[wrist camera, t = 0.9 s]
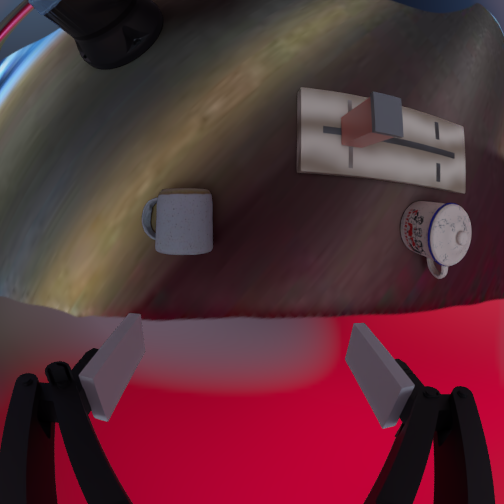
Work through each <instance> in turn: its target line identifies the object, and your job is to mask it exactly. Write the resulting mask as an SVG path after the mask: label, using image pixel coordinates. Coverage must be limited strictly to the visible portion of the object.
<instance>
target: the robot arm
mask: <svg viewBox="0 0 504 504" xmlns="http://www.w3.org/2000/svg"><path fill="white" fill-rule="evenodd" d="M28 1H29V3H30V4H31V5H32V6H33V7H34V8H35V9H36V10H37V11H38V13H39V14H40V15H44V16H45V17H46V18H48V19H49V20H51V21H52V22H53V23H55V24H56V25H57V26H59V27H60V28H61V29H63V30H64V31H65V32H67V33H68V34H69V35H71V36H72V37H73V38H74V39H75V42H76V44H77V47H78V50H79V52H80V54H81V56H82V58H83V59H84V60H85V61H86V62H87V63H89V64H90V65H91V66H93V67H95V68H98V69H112V68H116V67H120V66H122V65H125V64H127V63H129V62H131V61H132V60H134V59H136V58H137V57H139V56H140V55H141V54H143V53H144V52H145V51H146V50H147V49H148V48H149V47H150V46H151V45H152V44H153V43H154V41H155V40H156V39H157V37H158V35H159V34H160V31H161V29H162V25H163V17H162V14H161V12H160V10H159V8H158V6H157V5H156V4H155V3H154V2H153V1H151V0H28ZM144 353H145V346H144V338H143V331H142V322H141V314H134V313H129V314H128V315H127V316H126V318H125V319H124V320H123V321H122V322H121V324H120V325H119V326H118V327H117V328H116V329H115V331H114V332H113V333H112V334H111V336H110V337H109V338H108V339H107V340H106V342H105V343H104V344H103V345H102V346H101V348H100V349H95V348H93V349H91V350H89V351H88V352H86V353H85V355H84V356H83V357H82V359H80V360H79V362H78V363H77V364H76V365H75V366H74V368H73V369H72V370H71V368H70V366H69V364H67V363H65V362H61V361H59V362H54V363H51V364H49V365H48V366H47V367H46V369H45V374H46V376H47V379H48V381H49V383H41V382H39V381H38V378H37V377H36V375H34V374H30V373H26V374H22V375H20V376H19V377H18V378H17V380H16V382H15V386H14V389H13V393H12V397H11V400H10V404H9V408H8V412H7V417H6V421H5V426H4V431H3V437H2V443H1V449H0V504H57V495H56V483H55V463H54V437H55V422H57V423H59V427H60V430H61V434H62V437H63V441H64V444H65V447H66V450H67V453H68V456H69V459H70V462H71V465H72V467H73V470H74V473H75V475H76V478H77V480H78V483H79V485H80V487H81V490H82V492H83V494H84V496H85V499H86V501H87V503H88V504H133V503H132V502H131V500H130V498H129V497H128V495H127V494H126V492H125V490H124V489H123V487H122V485H121V483H120V482H119V480H118V478H117V476H116V474H115V473H114V471H113V469H112V467H111V465H110V463H109V461H108V459H107V457H106V455H105V453H104V451H103V449H102V447H101V444H100V442H99V440H98V438H97V435H96V433H95V431H94V428H93V426H92V424H91V421H90V419H89V416H88V414H89V413H90V411H92V413H93V415H94V418H97V419H100V420H104V421H107V422H108V420H109V419H110V417H111V415H112V413H113V411H114V409H115V407H116V405H117V403H118V401H119V399H120V397H121V395H122V394H123V391H124V390H125V388H126V386H127V384H128V382H129V381H130V379H131V377H132V375H133V373H134V371H135V369H136V368H137V366H138V364H139V362H140V360H141V359H142V357H143V355H144ZM345 360H346V362H347V364H348V366H349V367H350V369H351V371H352V373H353V375H354V376H355V378H356V380H357V382H358V384H359V386H360V387H361V389H362V391H363V393H364V395H365V397H366V398H367V400H368V402H369V404H370V406H371V408H372V409H373V412H374V413H375V415H376V417H377V419H378V421H379V423H380V425H381V427H382V428H387V427H391V426H395V425H396V423H397V421H398V419H399V417H400V419H401V421H402V424H401V426H400V428H399V430H398V431H397V433H396V435H395V437H396V439H395V441H394V443H393V446H392V448H391V451H390V453H389V455H388V457H387V459H386V461H385V464H384V466H383V468H382V470H381V472H380V474H379V476H378V478H377V480H376V482H375V484H374V486H373V488H372V489H371V491H370V493H369V495H368V497H367V498H366V500H365V502H364V504H413V501H414V499H415V496H416V493H417V490H418V488H419V485H420V482H421V479H422V476H423V473H424V470H425V466H426V463H427V460H428V456H429V453H430V449H431V445H432V441H433V443H434V473H435V474H434V475H435V476H434V504H495V496H494V486H493V479H492V471H491V465H490V459H489V454H488V449H487V445H486V440H485V436H484V432H483V428H482V424H481V420H480V417H479V413H478V410H477V406H476V403H475V400H474V397H473V394H472V392H471V391H470V390H469V389H468V388H466V387H462V386H459V387H455V388H454V389H453V391H452V393H451V394H440V393H439V391H438V390H437V389H435V388H433V387H429V386H426V387H425V386H424V385H423V384H422V383H421V381H420V380H419V379H418V378H417V377H416V375H415V374H413V372H412V371H411V370H410V368H409V367H408V366H407V365H406V363H404V362H403V361H401V360H400V359H394V358H393V357H392V356H391V355H390V354H389V352H388V351H387V350H386V348H385V347H384V346H383V345H382V344H381V342H380V341H379V340H378V339H377V338H376V336H375V335H374V334H373V333H372V332H371V330H370V329H369V328H368V327H367V326H366V324H365V323H354V324H353V329H352V333H351V338H350V342H349V346H348V350H347V354H346V358H345Z"/></svg>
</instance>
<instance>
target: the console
mask: <svg viewBox="0 0 504 504" xmlns="http://www.w3.org/2000/svg"><path fill="white" fill-rule="evenodd" d="M366 99H368V98H366V97H361V96H356V95H351V94H345V93H339V92H333V91H327V90H319V89H311V88H303V87H301V88H300V90H299V92H298V93H297V173H311V174H324V175H336V176H346V177H356V178H365V179H373V180H381V181H388V182H396V183H402V184H409V185H415V186H421V187H427V188H433V189H438V190H444V191H449V192H454V193H465V143H464V130H463V127H462V126H460V125H457V124H455V123H452V122H450V121H447V120H444V119H441V118H438V117H436V116H433V115H430V114H426V113H423V112H420V111H417V110H414V109H410V108H407V107H403V106H402V117H403V135H404V137H402V138H397V137H394V138H390V139H387V140H384V141H381V142H378V143H375V144H372V145H369V146H366V147H363V148H359V147H352V146H345V145H342V131H341V117H342V116H344V115H345V114H347V113H348V112H349V111H351V110H352V109H354V108H355V107H356V106H358V105H359V104H361V103H362V102H364V101H365V100H366Z"/></svg>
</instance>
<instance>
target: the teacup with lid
mask: <svg viewBox="0 0 504 504" xmlns="http://www.w3.org/2000/svg"><path fill="white" fill-rule="evenodd" d="M400 231H401V237H402V240H403V242H404V244H405V245H406V247H407V248H408V249H410V250H411V251H413V252H416V253H418V254H420V255H423V256H425V257H427V264H428V268H429V270H430V272H431V273H432V274H433V276H435V277H436V278H439V279H441V278H443V277H445V276H446V274H447V271H448V266H451V265H454V264H456V263H458V262H459V261H460V260H461V259H462V258H463V257H464V256H465V254H466V252H467V250H468V248H469V245H470V241H471V223H470V219H469V217H468V215H467V213H466V212H465V210H464V209H463V208H462V207H460V206H459V205H457V204H455V203H446V204H444V203H436V202H427V201H417V202H414V203H412V204H411V205H410V206H409V207H408V208H407V209H406V210H405V212H404V214H403V216H402V220H401V226H400ZM433 260H435V261H436V262H437V263H438V264H440V265H441V273H440V272H439V271H438V270H437V269H436V267H435V265H434V261H433Z"/></svg>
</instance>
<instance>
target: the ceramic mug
mask: <svg viewBox="0 0 504 504" xmlns="http://www.w3.org/2000/svg"><path fill="white" fill-rule="evenodd" d="M155 203H157V219H156V234H155V233H154V231H153V230H152V228H151V223H150V221H151V212H152V207H153V206H154V204H155ZM212 216H213V202H212V195H211V193H210V191H209V190H207V189H196V188H173V189H163V190H162V191H161V192H160V193H159V196H158V198H154V199H151V200H150V201H148V202H147V204H146V205H145V207H144V209H143V213H142V225H143V229H144V231H145V232H146V234H147V235H148V236H149V237H150V238H152V239H154V240H156V241H155V248H156V251H157V252H160V253H164V254H170V255H197V254H202V253H208V252H210V251H212V249H213V221H212Z"/></svg>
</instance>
